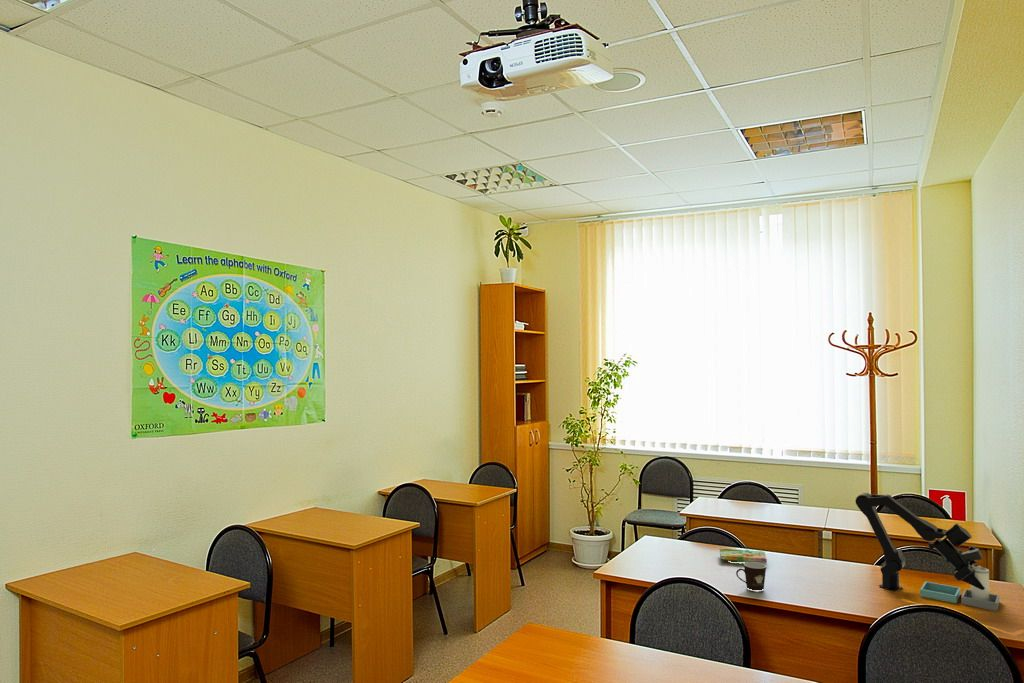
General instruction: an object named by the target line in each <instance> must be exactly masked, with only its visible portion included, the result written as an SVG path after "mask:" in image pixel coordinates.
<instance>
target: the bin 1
mask: <svg viewBox="0 0 1024 683" xmlns="http://www.w3.org/2000/svg"><path fill="white" fill-rule="evenodd" d="M961 593H962V591H961V587H959V586H953V585H948V584H943V583H942V584H941V583H936V582H931V581H924V582H923V584H922V586H921V587H920V589H919V594H920V595H919V596H920V597H922V598H927V599H932V600H937V601H943V602H947V603H952V604H957V603H958V602H959V599H960V596H962V595H961Z"/></svg>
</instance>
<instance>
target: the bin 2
mask: <svg viewBox="0 0 1024 683" xmlns="http://www.w3.org/2000/svg"><path fill="white" fill-rule="evenodd" d="M960 596H961V600H960V601H961V605H965V606H970V607H975V608H979V609H986V610H990V611H995V612H996V611H998V608H999V605H1000V603H1001V602H1000V595H999V594H994V593H991V592H989V601H984V600H978V599H973V598H972V589H969V588H968V589H967V588H965V589H964V590H963V592H962V595H960Z"/></svg>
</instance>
